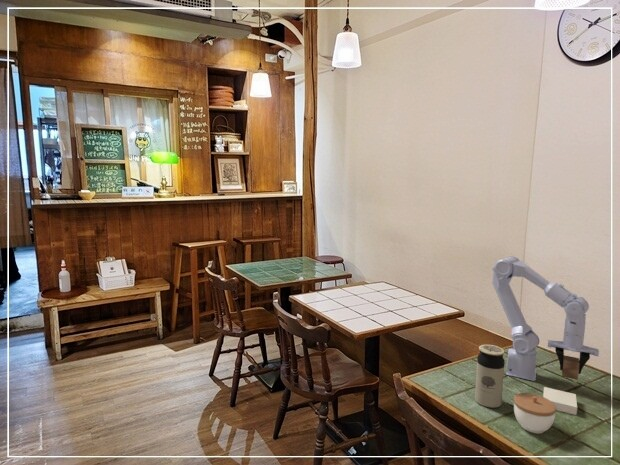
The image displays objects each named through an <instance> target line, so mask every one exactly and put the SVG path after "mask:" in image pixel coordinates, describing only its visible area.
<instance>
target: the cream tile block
mask: <svg viewBox="0 0 620 465" xmlns="http://www.w3.org/2000/svg"><path fill="white" fill-rule="evenodd" d="M542 397H544V398H546V399H548V400H550V401H551V402H552V403H553V404H554V405H555V407H556V411H557V412H561V413H562V412H563V413H565V414H570V415H572V416H577V415H578V414H577V413H578V403H577V394H576V393H572V392H568V391H564V390H559V389H554V388H551V387H547V386H543V395H542Z"/></svg>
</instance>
